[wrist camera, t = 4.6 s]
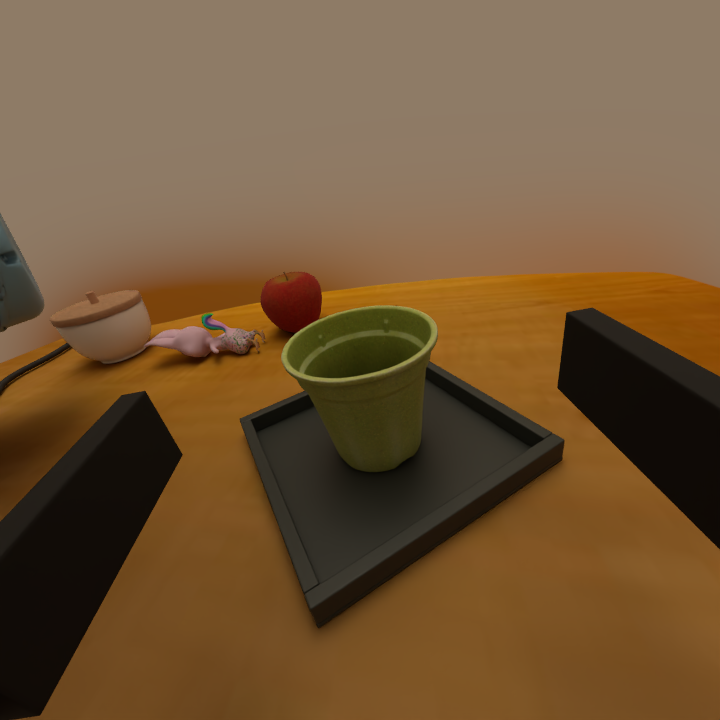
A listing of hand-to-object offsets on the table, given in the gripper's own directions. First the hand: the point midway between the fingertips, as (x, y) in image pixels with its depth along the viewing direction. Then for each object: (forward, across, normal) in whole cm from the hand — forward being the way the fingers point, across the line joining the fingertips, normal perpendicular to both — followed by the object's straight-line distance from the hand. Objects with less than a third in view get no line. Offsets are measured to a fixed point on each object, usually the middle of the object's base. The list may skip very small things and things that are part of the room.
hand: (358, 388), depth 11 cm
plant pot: (+10, 0, -12) cm, 15 cm away
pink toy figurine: (+31, -20, -12) cm, 39 cm away
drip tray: (+10, 0, -12) cm, 15 cm away
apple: (+35, -8, -12) cm, 37 cm away
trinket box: (+38, -35, -12) cm, 53 cm away
